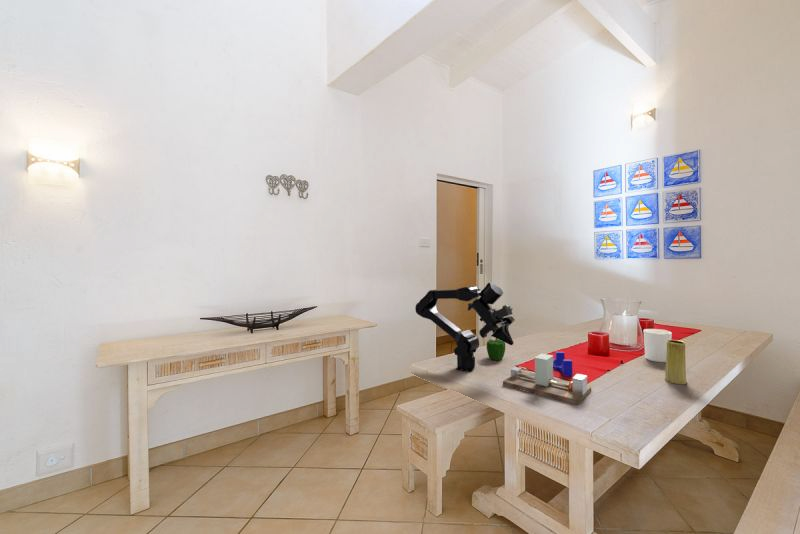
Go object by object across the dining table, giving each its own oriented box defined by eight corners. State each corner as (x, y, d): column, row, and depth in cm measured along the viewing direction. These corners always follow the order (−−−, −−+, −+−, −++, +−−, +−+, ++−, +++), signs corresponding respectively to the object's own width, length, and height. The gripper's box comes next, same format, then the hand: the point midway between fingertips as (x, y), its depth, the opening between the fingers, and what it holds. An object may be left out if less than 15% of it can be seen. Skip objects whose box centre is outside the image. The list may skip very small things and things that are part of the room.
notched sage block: (535, 383, 120) (534, 357, 120) (541, 378, 125) (541, 353, 124) (546, 386, 118) (546, 359, 117) (553, 381, 122) (553, 355, 122)
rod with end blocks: (509, 380, 127) (509, 364, 127) (515, 376, 131) (515, 361, 131) (582, 397, 111) (582, 380, 110) (587, 393, 114) (587, 375, 114)
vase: (682, 379, 125) (682, 340, 125) (689, 385, 120) (690, 344, 119) (661, 377, 127) (662, 339, 127) (668, 383, 122) (669, 343, 121)
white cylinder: (677, 362, 143) (678, 333, 142) (653, 363, 143) (653, 334, 143) (660, 355, 153) (660, 328, 152) (637, 355, 153) (637, 329, 152)
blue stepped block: (551, 365, 144) (551, 351, 144) (563, 366, 143) (563, 351, 143) (559, 376, 132) (559, 360, 132) (572, 376, 131) (572, 361, 131)
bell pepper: (489, 361, 151) (489, 339, 150) (484, 356, 159) (484, 334, 158) (508, 361, 151) (508, 338, 150) (502, 355, 159) (502, 334, 159)
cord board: (502, 385, 124) (502, 380, 124) (519, 374, 135) (519, 370, 135) (578, 404, 107) (578, 399, 107) (591, 390, 117) (591, 386, 117)
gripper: (486, 301, 125) (516, 336, 118) (509, 295, 138) (537, 326, 131) (467, 320, 130) (495, 355, 123) (492, 313, 144) (518, 343, 137)
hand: (512, 344), depth 129 cm, fingers closed
